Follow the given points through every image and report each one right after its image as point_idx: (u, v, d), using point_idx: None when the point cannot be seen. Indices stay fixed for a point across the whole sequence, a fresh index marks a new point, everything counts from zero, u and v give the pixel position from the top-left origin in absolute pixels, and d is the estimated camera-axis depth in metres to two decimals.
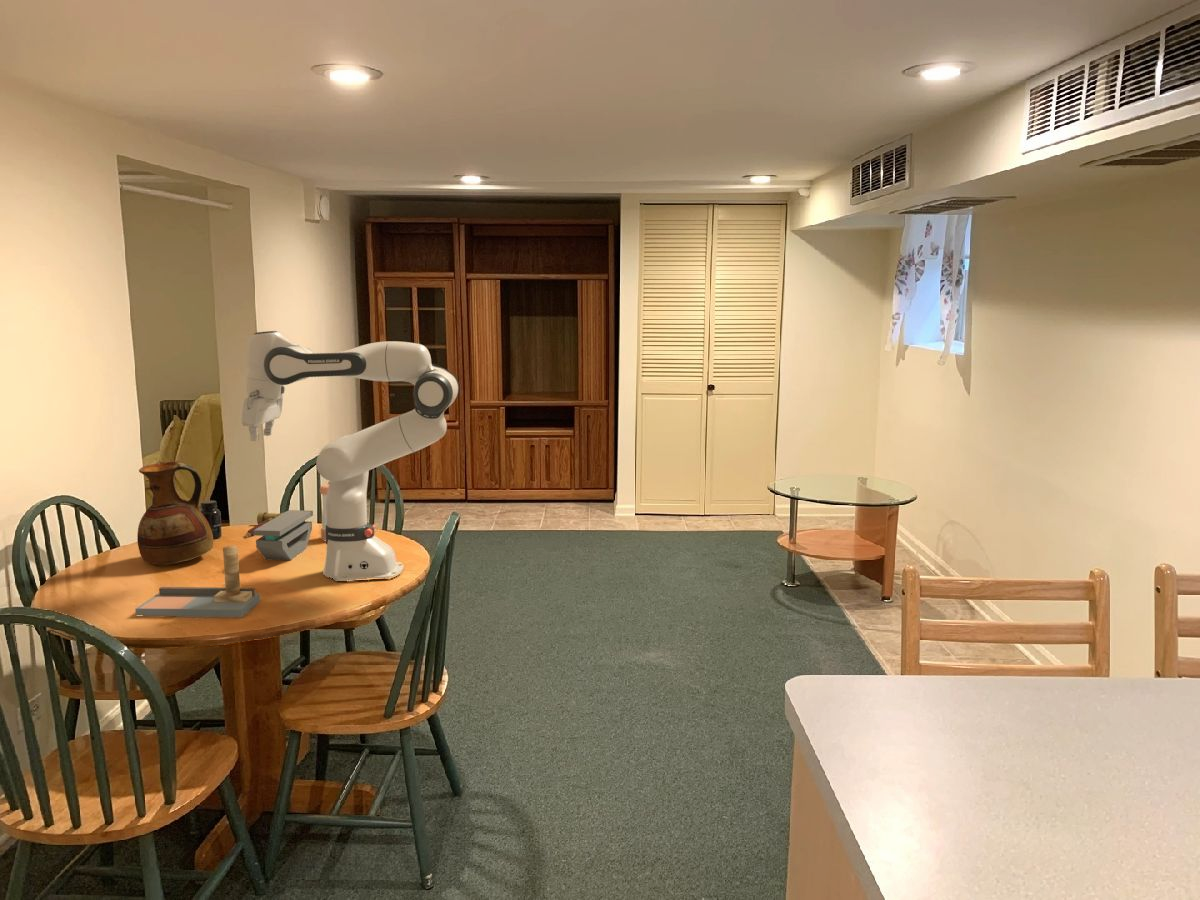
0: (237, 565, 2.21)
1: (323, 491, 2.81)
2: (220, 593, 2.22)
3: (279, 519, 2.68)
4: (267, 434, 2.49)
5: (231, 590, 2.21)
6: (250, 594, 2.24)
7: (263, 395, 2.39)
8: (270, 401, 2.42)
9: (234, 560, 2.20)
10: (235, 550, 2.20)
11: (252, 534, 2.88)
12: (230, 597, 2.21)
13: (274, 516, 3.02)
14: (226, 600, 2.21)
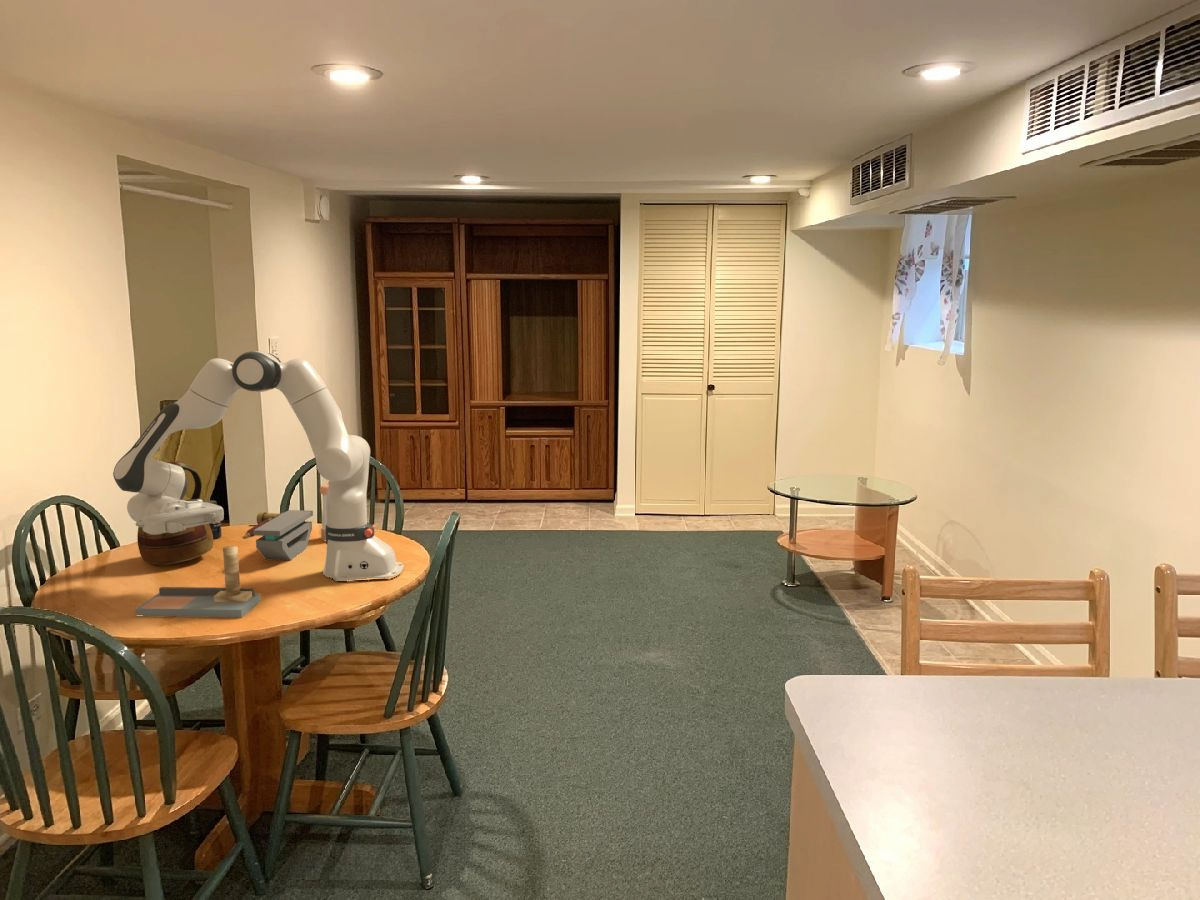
0: (237, 565, 2.21)
1: (323, 491, 2.81)
2: (220, 593, 2.22)
3: (279, 519, 2.68)
4: (214, 519, 2.30)
5: (231, 590, 2.21)
6: (250, 594, 2.24)
7: (158, 513, 2.30)
8: (171, 508, 2.31)
9: (234, 560, 2.20)
10: (235, 550, 2.20)
11: (251, 534, 2.88)
12: (230, 597, 2.21)
13: (274, 516, 3.02)
14: (226, 600, 2.21)
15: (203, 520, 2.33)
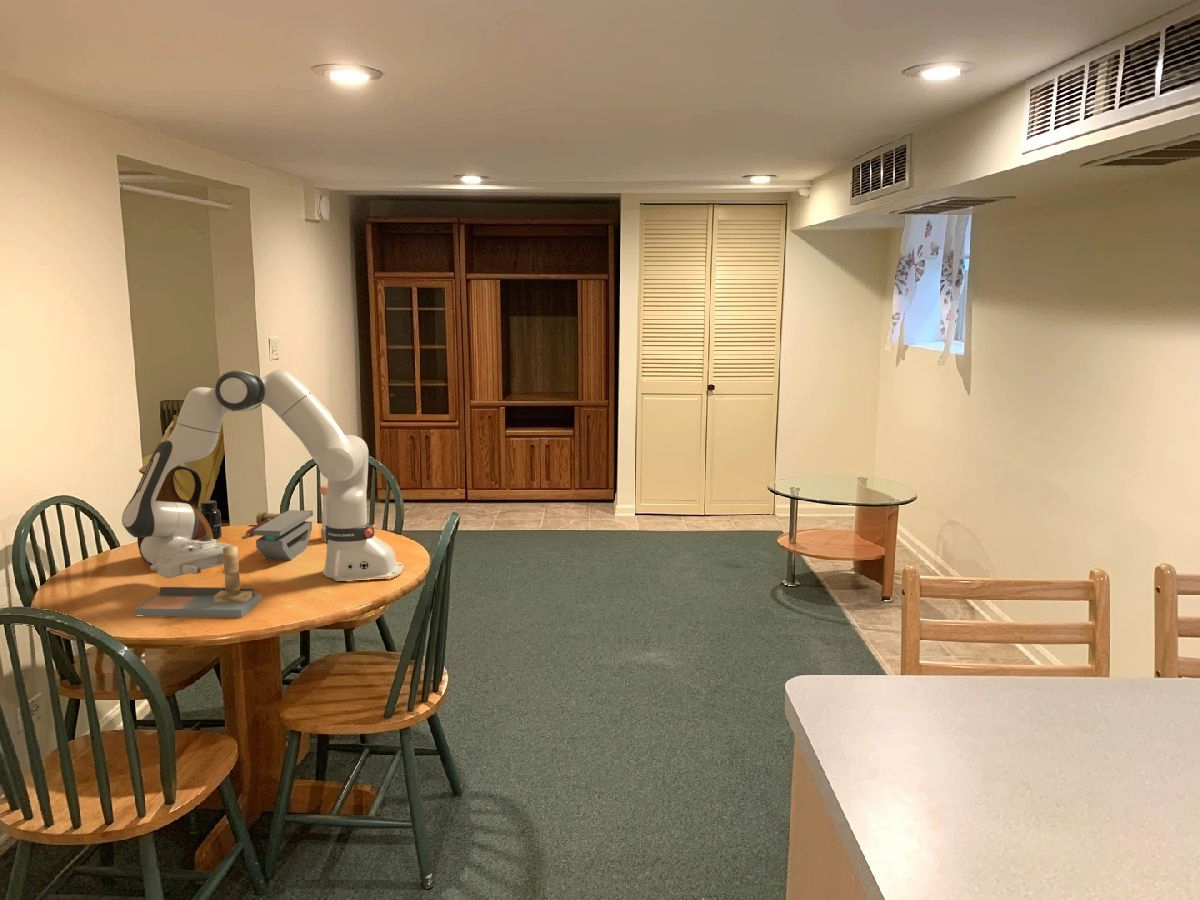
0: (237, 565, 2.21)
1: (323, 491, 2.81)
2: (220, 593, 2.22)
3: (279, 519, 2.68)
4: None
5: (231, 590, 2.21)
6: (250, 594, 2.24)
7: (172, 555, 2.29)
8: (185, 550, 2.30)
9: (234, 560, 2.20)
10: (235, 550, 2.20)
11: (251, 534, 2.88)
12: (230, 597, 2.21)
13: (273, 516, 3.02)
14: (226, 600, 2.21)
15: (217, 561, 2.32)
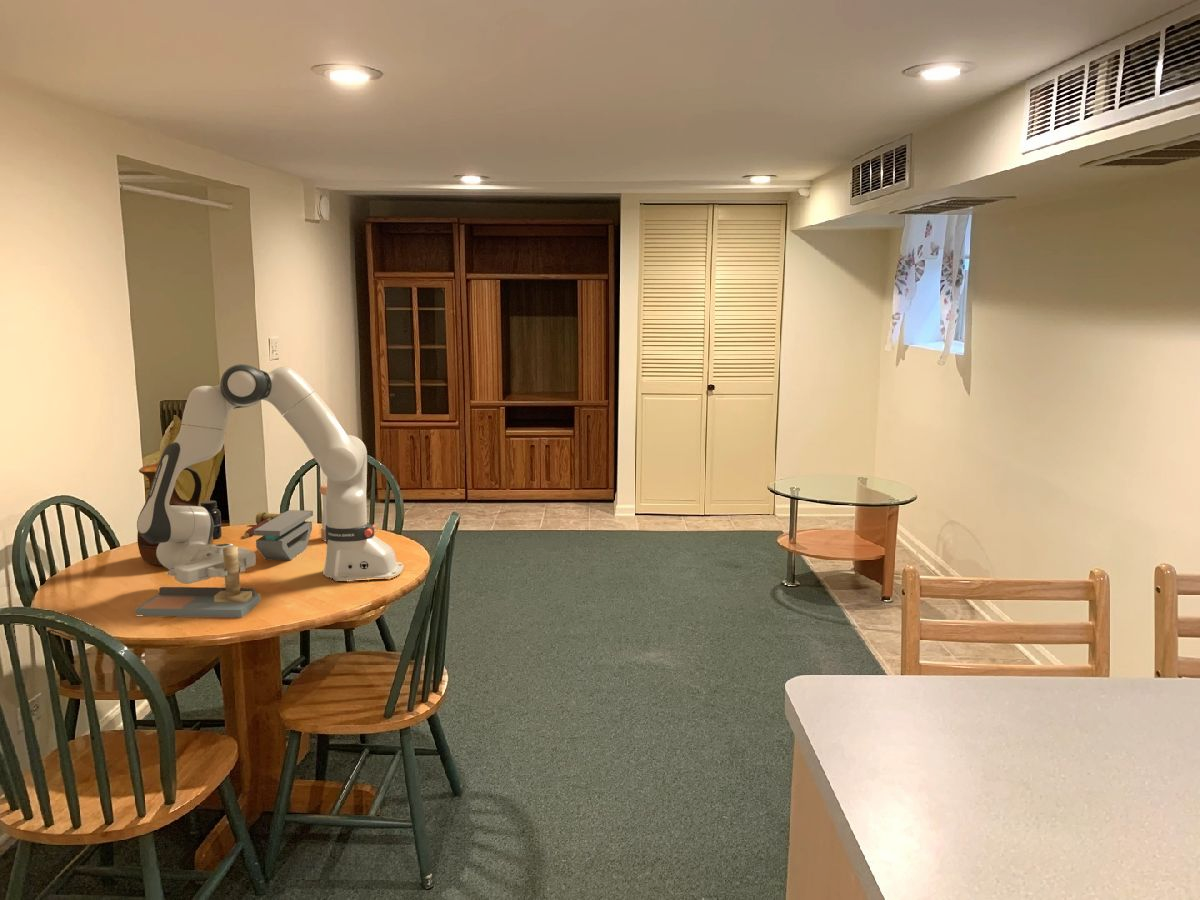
0: (237, 565, 2.21)
1: (323, 491, 2.81)
2: (220, 593, 2.22)
3: (279, 519, 2.68)
4: None
5: (231, 590, 2.21)
6: (250, 594, 2.24)
7: (189, 560, 2.24)
8: (202, 554, 2.25)
9: (234, 560, 2.20)
10: (235, 550, 2.20)
11: (250, 534, 2.88)
12: (230, 597, 2.21)
13: (273, 516, 3.02)
14: (226, 600, 2.21)
15: None
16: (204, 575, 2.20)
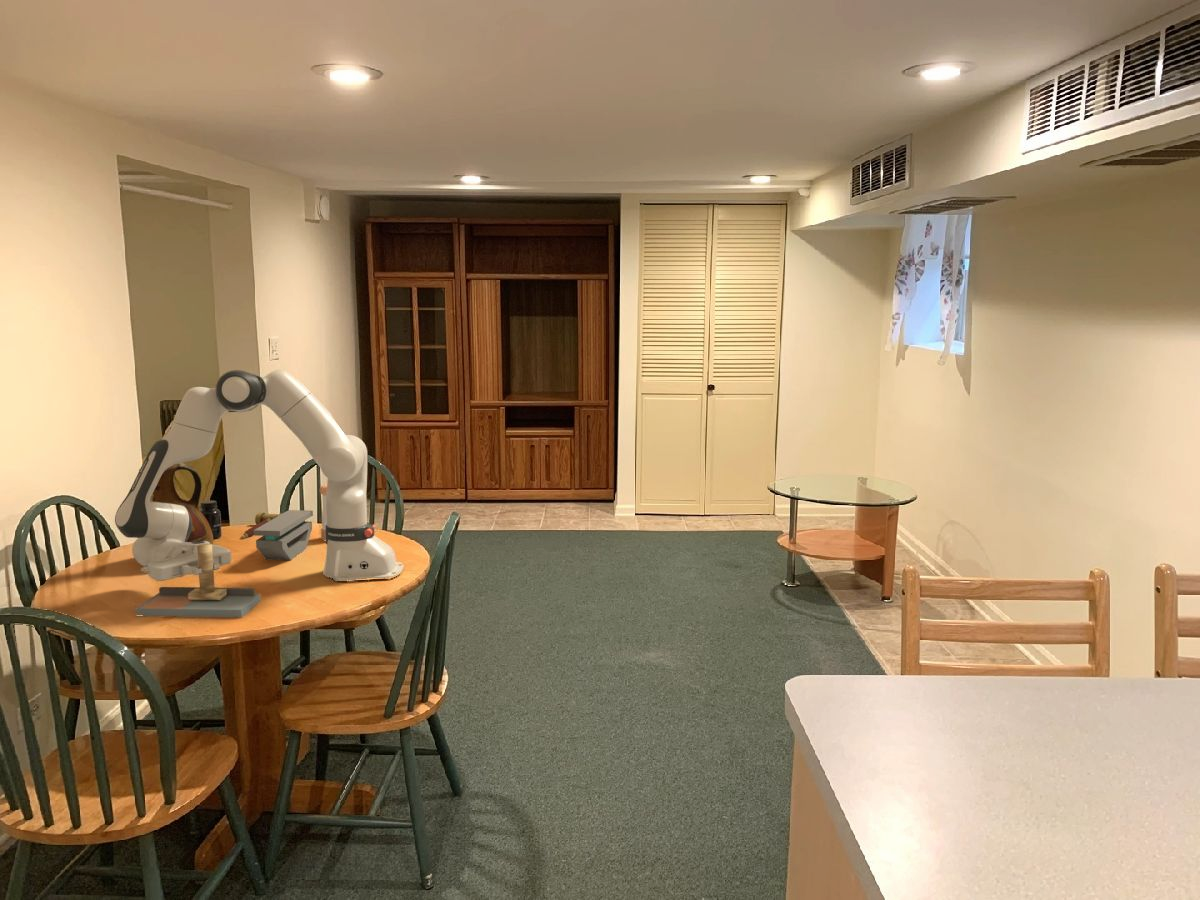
0: (211, 563, 2.21)
1: (323, 491, 2.81)
2: (194, 591, 2.22)
3: (279, 519, 2.68)
4: (213, 566, 2.22)
5: (205, 588, 2.20)
6: (224, 592, 2.23)
7: (164, 557, 2.24)
8: (177, 552, 2.25)
9: (208, 558, 2.20)
10: (209, 548, 2.20)
11: (249, 535, 2.87)
12: (204, 595, 2.20)
13: (272, 517, 3.01)
14: (200, 598, 2.20)
15: None
16: (178, 573, 2.20)
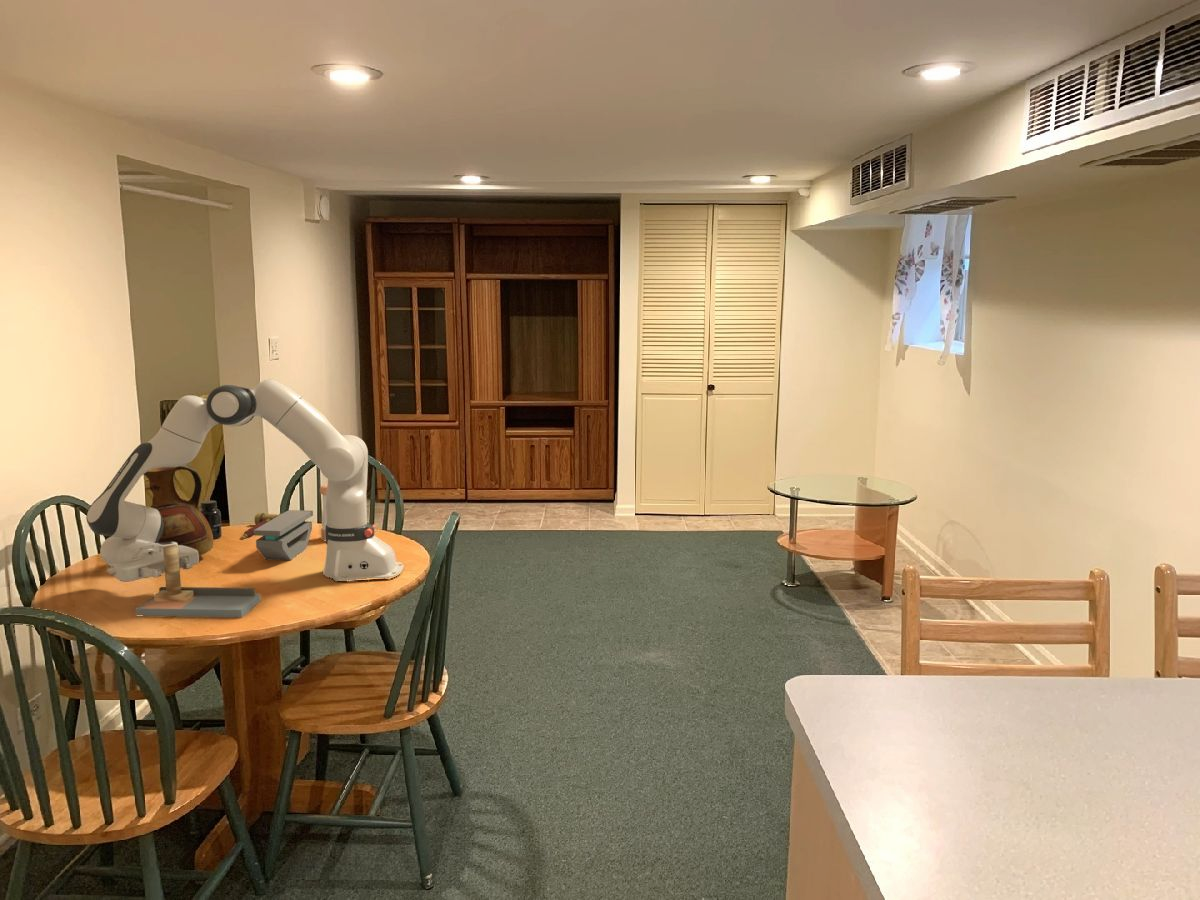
0: (177, 564, 2.21)
1: (323, 491, 2.81)
2: (161, 592, 2.22)
3: (279, 519, 2.68)
4: (185, 565, 2.24)
5: (171, 589, 2.21)
6: (191, 593, 2.23)
7: (130, 558, 2.24)
8: (144, 553, 2.25)
9: (174, 559, 2.20)
10: (175, 549, 2.20)
11: (249, 535, 2.87)
12: (170, 596, 2.21)
13: (272, 517, 3.01)
14: (166, 599, 2.21)
15: None
16: None
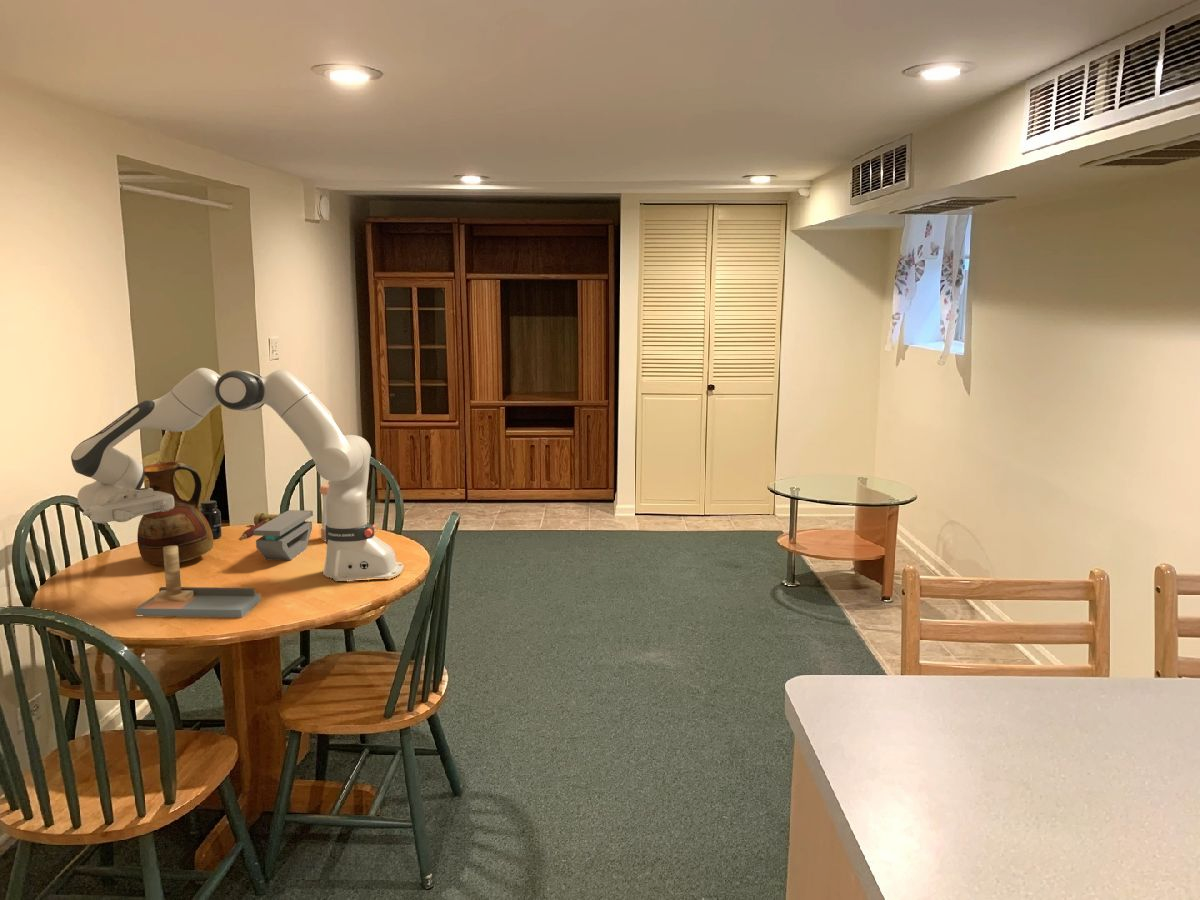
0: (177, 564, 2.21)
1: (323, 491, 2.81)
2: (161, 592, 2.22)
3: (279, 519, 2.68)
4: (163, 507, 2.27)
5: (171, 589, 2.21)
6: (191, 593, 2.23)
7: (106, 502, 2.27)
8: (119, 497, 2.28)
9: (174, 559, 2.20)
10: (175, 549, 2.20)
11: (248, 535, 2.87)
12: (170, 596, 2.21)
13: (271, 517, 3.00)
14: (166, 599, 2.21)
15: (152, 508, 2.30)
16: None
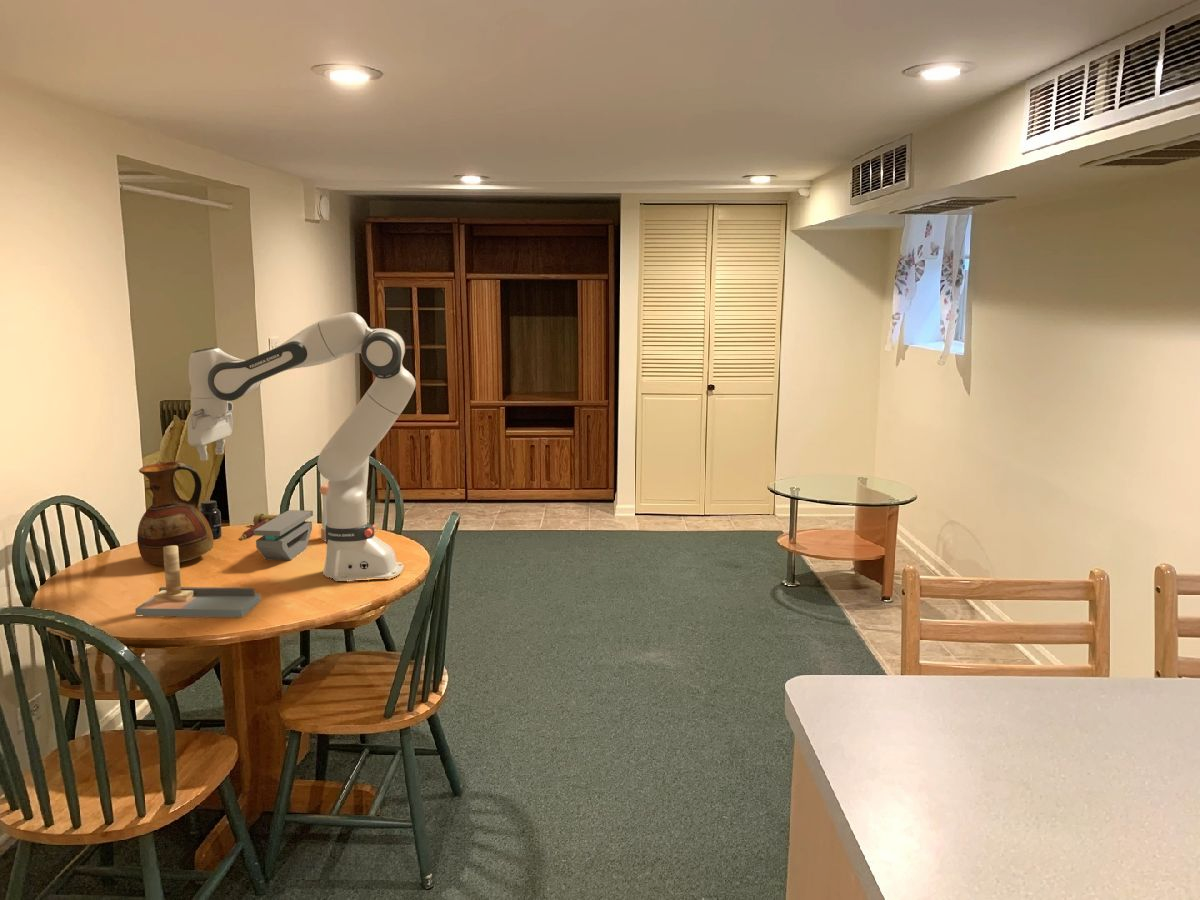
0: (177, 564, 2.21)
1: (323, 491, 2.81)
2: (161, 592, 2.22)
3: (279, 519, 2.68)
4: (219, 453, 2.45)
5: (171, 589, 2.21)
6: (191, 593, 2.23)
7: (208, 413, 2.35)
8: (217, 419, 2.38)
9: (174, 559, 2.20)
10: (175, 549, 2.20)
11: (248, 536, 2.86)
12: (170, 596, 2.21)
13: (270, 517, 3.00)
14: (166, 599, 2.21)
15: None
16: None
